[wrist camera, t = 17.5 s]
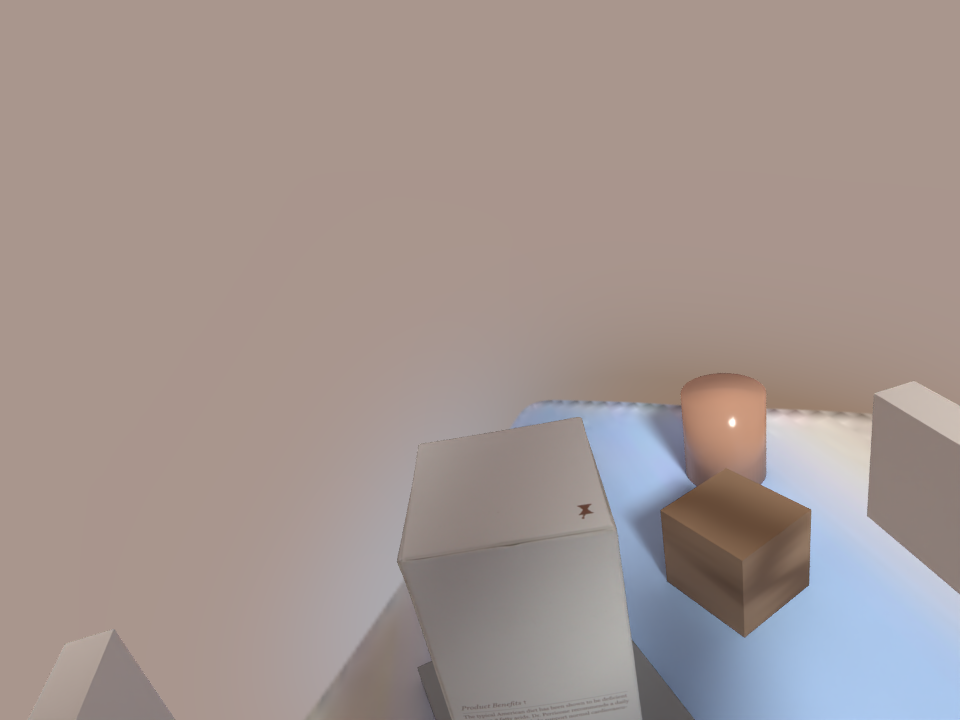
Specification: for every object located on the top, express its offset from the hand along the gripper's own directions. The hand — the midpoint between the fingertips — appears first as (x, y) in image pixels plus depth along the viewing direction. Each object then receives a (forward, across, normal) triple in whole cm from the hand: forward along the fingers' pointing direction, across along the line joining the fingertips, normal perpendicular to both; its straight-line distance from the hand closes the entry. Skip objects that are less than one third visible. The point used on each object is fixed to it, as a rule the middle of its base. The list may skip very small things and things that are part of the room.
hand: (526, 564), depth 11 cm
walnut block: (+15, +12, -20) cm, 28 cm away
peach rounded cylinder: (+24, +16, -21) cm, 36 cm away
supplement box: (+11, 0, -19) cm, 22 cm away
